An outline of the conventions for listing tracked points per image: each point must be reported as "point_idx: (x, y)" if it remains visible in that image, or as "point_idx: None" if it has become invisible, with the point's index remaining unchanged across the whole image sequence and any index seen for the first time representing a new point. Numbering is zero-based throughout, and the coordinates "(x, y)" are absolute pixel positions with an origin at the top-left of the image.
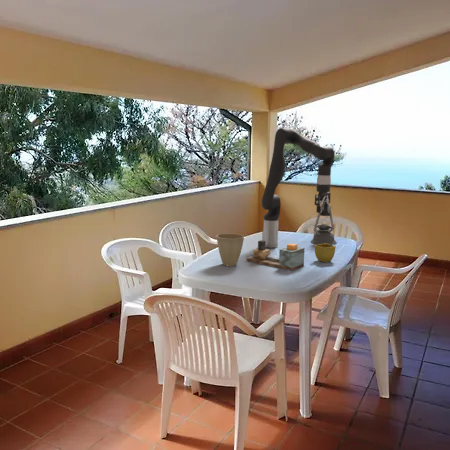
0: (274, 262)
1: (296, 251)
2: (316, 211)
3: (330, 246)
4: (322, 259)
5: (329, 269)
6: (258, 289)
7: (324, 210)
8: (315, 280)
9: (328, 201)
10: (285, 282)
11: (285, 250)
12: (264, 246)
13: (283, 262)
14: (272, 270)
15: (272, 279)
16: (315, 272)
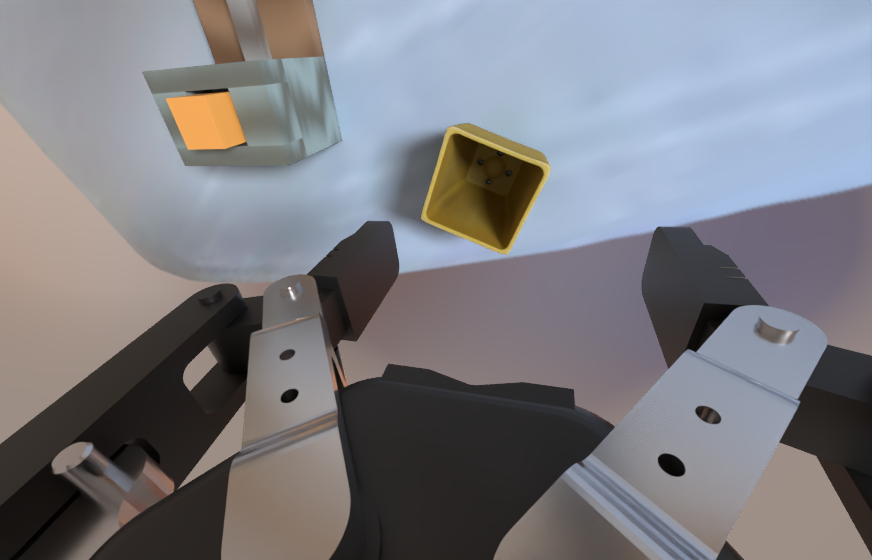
0: (219, 4)
1: (221, 164)
2: (364, 224)
3: (523, 211)
4: (454, 180)
5: None
6: (74, 184)
7: (653, 242)
8: (258, 265)
9: (839, 459)
10: (168, 207)
11: (165, 115)
12: None
13: None
14: None
15: (141, 156)
16: (316, 227)
